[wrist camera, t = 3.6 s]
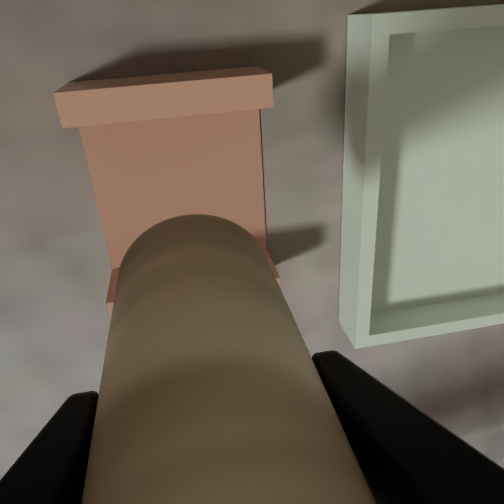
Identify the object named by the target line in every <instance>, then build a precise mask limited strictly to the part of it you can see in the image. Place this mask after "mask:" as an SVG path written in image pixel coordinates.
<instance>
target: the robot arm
mask: <svg viewBox="0 0 504 504" xmlns="http://www.w3.org/2000/svg"><path fill="white" fill-rule="evenodd" d="M312 360H313V363H314V365H315V367H316V369H317V372H318V374H319V376H320V378H321V380H322V383H323V385H324V387H325V389H326V392H327V394H328V396H329V398H330V401H331V403H332V405H333V407H334V410H335V412H336V414H337V416H338V418H339V421H340V423H341V425H342V427H343V430H344V432H345V434H346V436H347V439H348V441H349V443H350V445H351V448H352V450H353V452H354V454H355V456H356V459H357V461H358V463H359V465H360V468H361V470H362V472H363V474H364V477H365V479H366V481H367V483H368V486H369V488H370V490H371V492H372V494H373V497H374V499H375V501H376V503H377V504H504V468H502V467H501V466H499V465H498V464H496V463H495V462H494V461H492V460H491V459H489V458H488V457H487V456H485V455H484V454H482V453H481V452H479V451H478V450H477V449H475V448H474V447H472V446H471V445H469V444H468V443H467V442H465V441H464V440H462V439H461V438H460V437H458V436H457V435H455V434H454V433H452V432H451V431H450V430H448V429H447V428H445V427H444V426H442V425H441V424H440V423H438V422H437V421H435V420H434V419H433V418H431V417H430V416H428V415H427V414H425V413H424V412H423V411H421V410H420V409H418V408H417V407H415V406H414V405H413V404H411V403H410V402H408V401H407V400H406V399H404V398H403V397H401V396H400V395H398V394H397V393H396V392H394V391H393V390H391V389H390V388H388V387H387V386H386V385H384V384H383V383H381V382H380V381H379V380H377V379H376V378H374V377H373V376H371V375H370V374H369V373H367V372H366V371H364V370H363V369H361V368H360V367H359V366H357V365H356V364H354V363H353V362H352V361H350V360H349V359H347V358H346V357H344V356H343V355H342V354H340V353H339V352H337V351H334V350H331V351H325V352H319V353H315V354H314V355H313V356H312ZM98 397H99V395H98V393H97V392H95V391H89V392H83V393H77V394H73V395H71V396H70V397H69V398H68V399H67V400H66V401H65V402H64V403H63V405H62V406H61V407H60V408H59V409H58V411H57V412H56V413H55V414H54V416H53V417H52V418H51V419H50V420H49V422H48V423H47V424H46V425H45V426H44V428H43V429H42V430H41V431H40V433H39V434H38V435H37V436H36V437H35V439H34V440H33V441H32V442H31V443H30V445H29V446H28V447H27V448H26V450H25V451H24V452H23V453H22V454H21V456H20V457H19V458H18V459H17V460H16V462H15V463H14V464H13V465H12V467H11V468H10V469H9V470H8V471H7V473H6V474H5V475H4V476H3V477H2V479H1V480H0V504H81V502H82V496H83V490H84V484H85V477H86V471H87V465H88V459H89V453H90V446H91V440H92V434H93V428H94V422H95V415H96V409H97V403H98Z"/></svg>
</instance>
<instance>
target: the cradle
mask: <svg viewBox="0 0 504 504" xmlns="http://www.w3.org/2000/svg"><path fill="white" fill-rule="evenodd" d="M53 94H54V98H55V102H56V106H57V110H58V114H59V118H60V122H61V126H62V128H70V127H79V130H80V135H81V139H82V143H83V148H84V152H85V156H86V160H87V165H88V169H89V173H90V178H91V182H92V186H93V190H94V195H95V199H96V203H97V208H98V212H99V216H100V220H101V225H102V229H103V233H104V238H105V242H106V246H107V250H108V255H109V259H110V263H111V268H112V273H111V278H110V284H109V289H108V294H107V300H106V306H107V310H108V314H109V318H110V322H111V316H112V310H113V304H114V298H115V291H116V285H117V279H118V273H119V268H120V265H121V262H122V259H123V257H124V255H125V253H126V252H127V250H128V249H129V247H130V246H131V244H132V243H133V242H134V241H135V240H136V239H137V238H138V237H139V236H140V235H141V234H142V233H144V232H145V231H146V230H147V229H149V228H151V227H152V226H154V225H156V224H158V223H160V222H162V221H164V220H167V219H170V218H173V217H177V216H182V215H190V214H205V215H212V216H218V217H221V218H224V219H227V220H230V221H232V222H234V223H236V224H238V225H239V226H241V227H242V228H244V229H245V230H247V231H248V232H249V233H250V234H251V235H252V236H253V237H254V238H255V239H256V240H257V241H258V243H259V244H260V246H261V247H262V249H263V251H264V253H265V255H266V258H267V260H268V262H269V264H270V266H271V269H272V271H273V273H274V275H275V278H276V280H277V282H278V284H279V287H280V289H281V284H280V276H279V274H278V272H277V270H276V268H275V265H274V263H273V261H272V259H271V257H270V255H269V253H268V250H267V246H266V228H265V209H264V190H263V172H262V153H261V134H260V116H259V109H264V108H274V107H273V81H272V73H270V72H268V71H266V70H264V69H262V68H259V67H257V66H252V67H240V68H228V69H217V70H205V71H193V72H182V73H170V74H158V75H147V76H135V77H123V78H112V79H100V80H88V81H77V82H68V83H67V84H65V85H64V86H62V87H61V88H60V89H58V90H57V91H55V92H54V93H53Z"/></svg>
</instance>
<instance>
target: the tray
mask: <svg viewBox="0 0 504 504" xmlns="http://www.w3.org/2000/svg"><path fill="white" fill-rule="evenodd" d="M339 323H340V324H341V326H342V328H343V329H344V331H345V333H346V334H347V336H348V338H349V339H350V341H351V343H352V344H353V346H354V348H355V349H358V348H364V347H370V346H375V345H381V344H387V343H393V342H399V341H405V340H410V339H416V338H422V337H428V336H434V335H439V334H445V333H451V332H457V331H463V330H469V329H474V328H480V327H486V326H492V325H498V324H504V4H491V5H477V6H464V7H450V8H436V9H422V10H409V11H395V12H381V13H367V14H354V15H348V28H347V62H346V95H345V128H344V162H343V195H342V228H341V262H340V295H339Z"/></svg>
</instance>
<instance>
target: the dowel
mask: <svg viewBox="0 0 504 504" xmlns="http://www.w3.org/2000/svg"><path fill="white" fill-rule="evenodd" d="M81 504H377V503H376V501H375V499H374V497H373V494H372V492H371V490H370V488H369V486H368V483H367V481H366V479H365V477H364V474H363V472H362V470H361V468H360V465H359V463H358V461H357V459H356V456H355V454H354V452H353V450H352V448H351V445H350V443H349V441H348V439H347V436H346V434H345V432H344V430H343V427H342V425H341V423H340V421H339V418H338V416H337V414H336V412H335V410H334V407H333V405H332V403H331V401H330V398H329V396H328V394H327V392H326V389H325V387H324V385H323V383H322V380H321V378H320V376H319V374H318V372H317V369H316V367H315V365H314V363H313V360H312V358H311V356H310V354H309V351H308V349H307V347H306V345H305V342H304V340H303V338H302V336H301V334H300V331H299V329H298V327H297V325H296V322H295V320H294V318H293V316H292V313H291V311H290V309H289V307H288V304H287V302H286V300H285V298H284V296H283V293H282V291H281V289H280V287H279V284H278V282H277V280H276V278H275V275H274V273H273V271H272V269H271V266H270V264H269V262H268V260H267V258H266V255H265V253H264V251H263V249H262V247H261V246H260V244H259V243H258V241H257V240H256V239H255V238H254V237H253V236H252V235H251V234H250V233H249V232H248V231H247V230H245V229H244V228H242V227H241V226H239V225H238V224H236V223H234V222H232V221H230V220H227V219H224V218H221V217H218V216H212V215H205V214H190V215H182V216H177V217H173V218H170V219H167V220H164V221H162V222H160V223H158V224H156V225H154V226H152V227H151V228H149V229H147V230H146V231H145V232H144V233H142V234H141V235H140V236H139V237H138V238H137V239H136V240H135V241H134V242H133V243H132V244H131V246H130V247H129V249H128V250H127V252H126V253H125V255H124V257H123V259H122V262H121V265H120V268H119V273H118V279H117V285H116V291H115V298H114V304H113V310H112V316H111V322H110V329H109V335H108V341H107V347H106V353H105V360H104V366H103V372H102V378H101V384H100V391H99V397H98V403H97V409H96V415H95V422H94V428H93V434H92V440H91V446H90V453H89V459H88V465H87V471H86V477H85V484H84V490H83V496H82V502H81Z"/></svg>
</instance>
